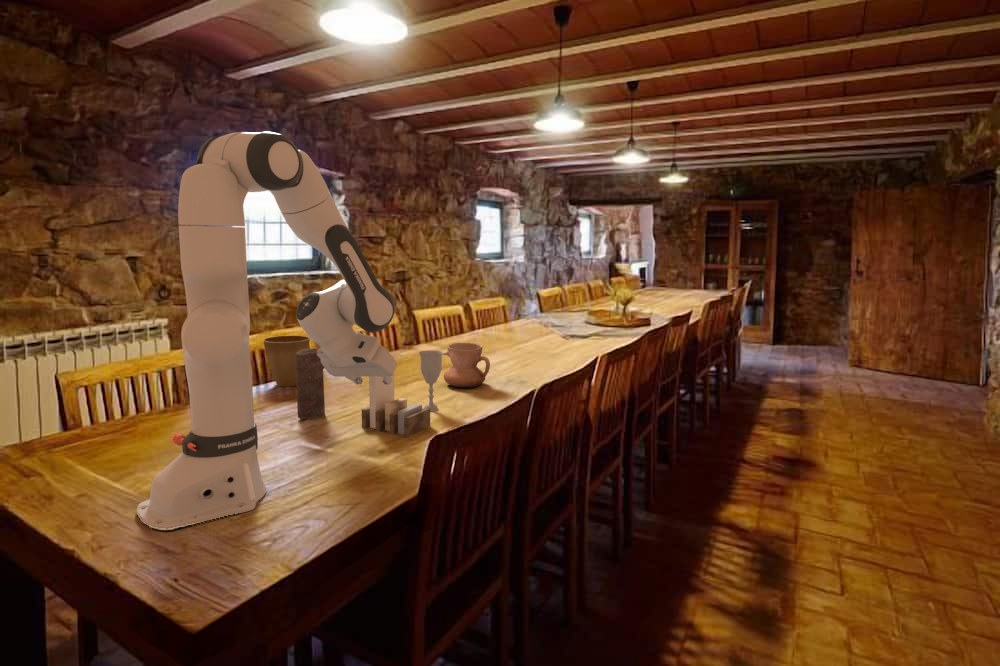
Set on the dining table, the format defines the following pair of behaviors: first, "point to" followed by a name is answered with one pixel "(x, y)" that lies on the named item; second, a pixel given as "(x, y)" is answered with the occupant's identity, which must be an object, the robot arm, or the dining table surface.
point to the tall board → (379, 396)
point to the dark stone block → (309, 385)
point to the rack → (411, 422)
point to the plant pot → (284, 357)
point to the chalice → (431, 372)
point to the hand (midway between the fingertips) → (374, 382)
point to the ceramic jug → (465, 365)
